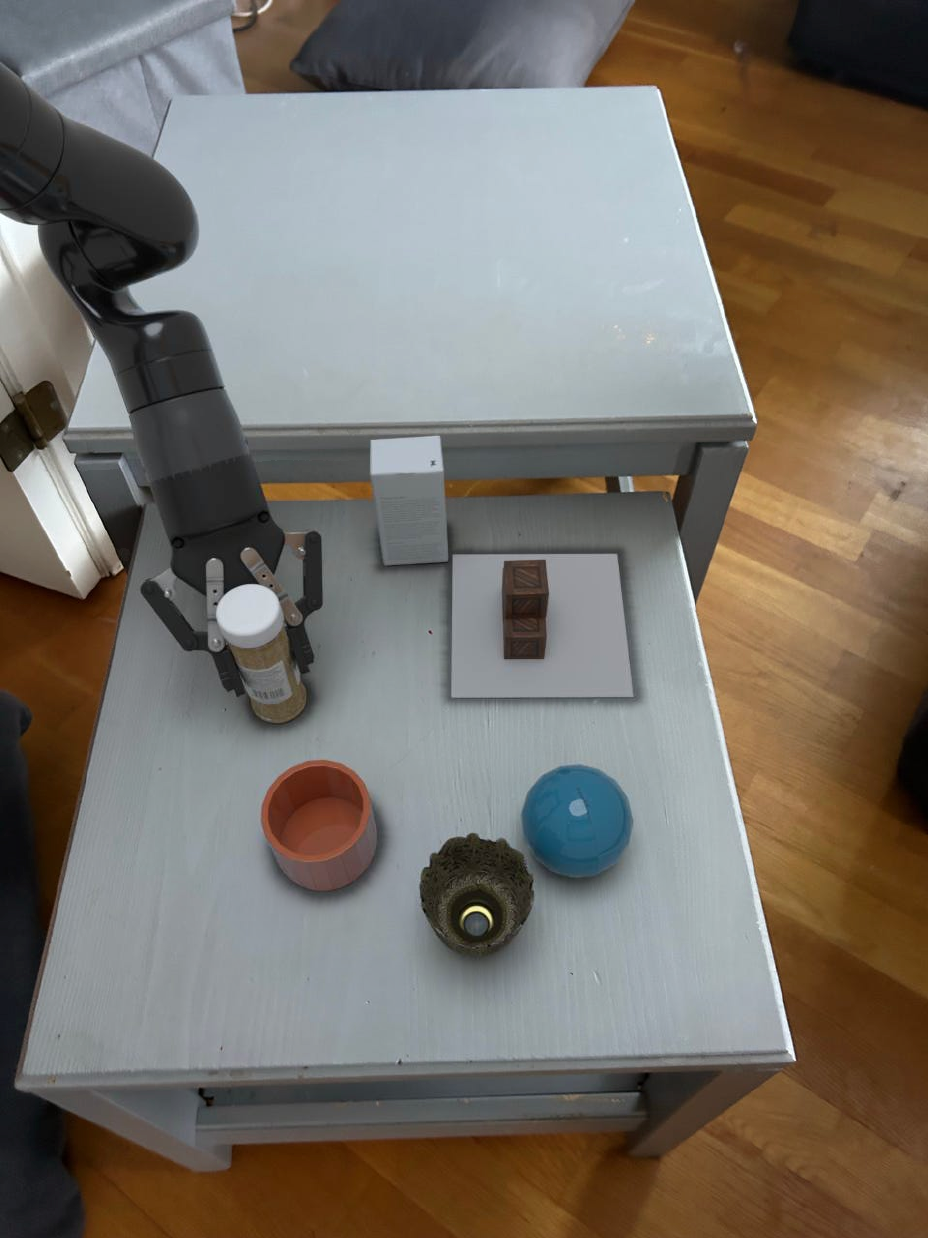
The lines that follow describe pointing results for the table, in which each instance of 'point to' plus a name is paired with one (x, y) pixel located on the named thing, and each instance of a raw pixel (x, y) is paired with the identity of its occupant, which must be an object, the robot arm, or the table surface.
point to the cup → (476, 893)
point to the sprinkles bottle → (262, 651)
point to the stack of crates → (538, 626)
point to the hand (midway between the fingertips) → (273, 681)
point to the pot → (320, 824)
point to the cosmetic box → (409, 499)
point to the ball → (576, 821)
